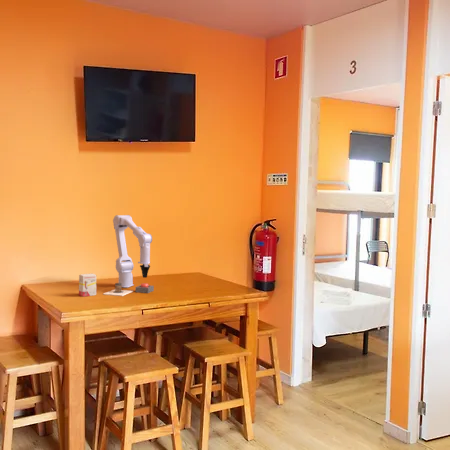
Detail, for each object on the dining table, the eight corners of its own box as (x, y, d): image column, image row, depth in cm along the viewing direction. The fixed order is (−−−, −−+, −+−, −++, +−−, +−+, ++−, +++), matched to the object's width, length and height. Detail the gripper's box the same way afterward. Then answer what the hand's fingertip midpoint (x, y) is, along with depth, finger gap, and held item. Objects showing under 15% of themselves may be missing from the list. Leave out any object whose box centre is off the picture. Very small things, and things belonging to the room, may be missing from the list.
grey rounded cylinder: (116, 291, 316) (116, 282, 316) (122, 291, 315) (122, 283, 315) (114, 292, 313) (114, 283, 312) (119, 292, 312) (119, 284, 311)
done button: (142, 287, 323) (142, 283, 323) (149, 287, 322) (149, 283, 322) (139, 288, 319) (139, 284, 318) (146, 289, 317) (146, 284, 317)
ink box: (82, 296, 301) (82, 275, 300) (78, 295, 305) (78, 274, 304) (96, 295, 307) (96, 274, 306) (92, 293, 311) (92, 273, 310)
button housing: (141, 289, 325) (141, 284, 325) (153, 290, 323) (153, 285, 323) (135, 292, 318) (135, 287, 317) (148, 293, 315) (148, 288, 315)
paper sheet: (114, 290, 322) (114, 289, 322) (133, 291, 319) (133, 290, 319) (103, 294, 309) (103, 293, 309) (122, 296, 306) (122, 295, 306)
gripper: (136, 253, 325) (136, 275, 326) (139, 256, 311) (139, 279, 312) (148, 252, 327) (148, 275, 327) (151, 256, 313) (151, 279, 314)
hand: (144, 277), depth 320 cm, fingers closed
